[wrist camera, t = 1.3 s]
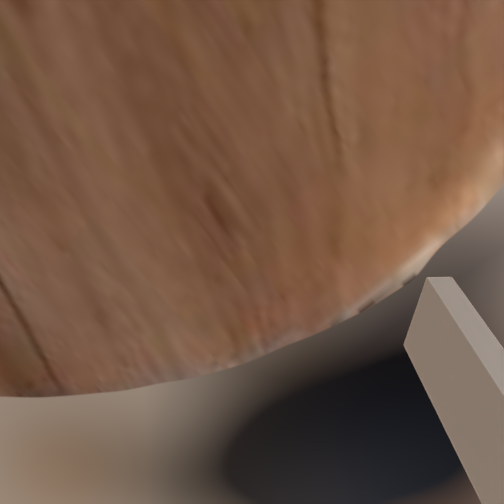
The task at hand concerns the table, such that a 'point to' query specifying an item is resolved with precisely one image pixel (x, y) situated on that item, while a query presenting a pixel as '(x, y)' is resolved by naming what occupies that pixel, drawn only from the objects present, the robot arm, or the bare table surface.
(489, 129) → the table surface
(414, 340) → the robot arm
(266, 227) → the table surface
